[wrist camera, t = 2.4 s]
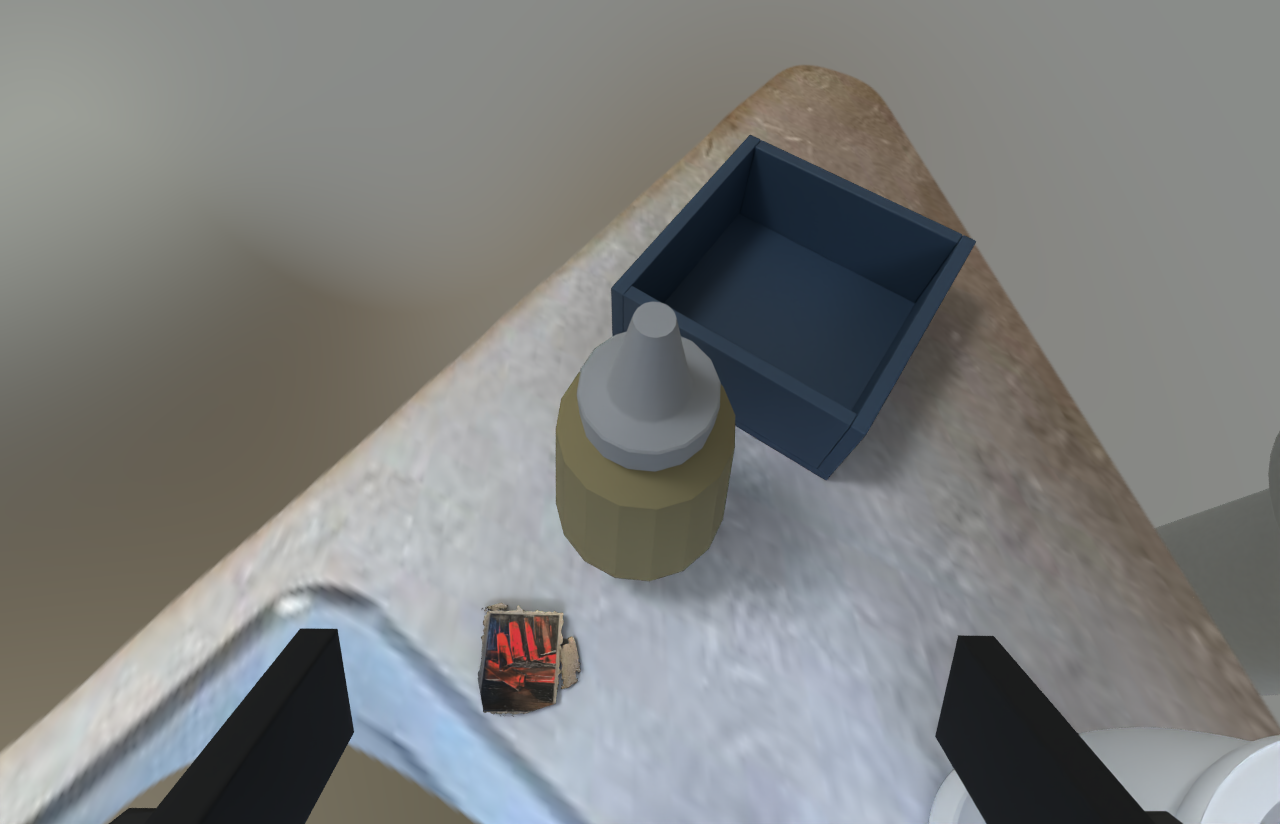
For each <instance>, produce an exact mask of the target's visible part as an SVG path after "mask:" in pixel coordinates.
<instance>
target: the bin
mask: <svg viewBox="0 0 1280 824" xmlns="http://www.w3.org/2000/svg"><path fill="white" fill-rule="evenodd" d="M975 243H976V241H975V240H973V239H971V238H969V237H967V236H964V235H963V236H962V234H960V233H958V232H956V231H954V230H952V229H950V228H948V227H946V226H943V225H941V224H939V223H937V222H935V221H933V220H931V219H928V218H926V217H924V216H922V215H920V214H918V213H916V212H914V211H911V210H909V209H907V208H905V207H903V206H901V205H899V204H897V203H894V202H892V201H890V200H888V199H886V198H884V197H882V196H879V195H877V194H875V193H873V192H871V191H869V190H867V189H865V188H862V187H860V186H858V185H856V184H854V183H852V182H850V181H848V180H845V179H843V178H841V177H839V176H837V175H835V174H833V173H831V172H828V171H826V170H824V169H822V168H820V167H818V166H816V165H813V164H811V163H809V162H807V161H805V160H803V159H801V158H799V157H796V156H794V155H792V154H790V153H788V152H786V151H784V150H782V149H779V148H777V147H775V146H773V145H771V144H769V143H767V142H765V141H762V140H760V139H758V138H756V137H754V136H752V135H749V136H748V137H747V139H746V140H745V141H744V142H743V143H742V144H741V145H740V146H739V147H738V149H737V150H736V151H735V152H734V153H733V154H732V155H731V156H730V157H729V158H728V160H727V161H726V162H725V163H724V164H723V165H722V166H721V167H720V168H719V170H718V171H717V172H716V173H715V174H714V175H713V176H712V177H711V178H710V179H709V181H708V182H707V183H706V184H705V185H704V186H703V187H702V188H701V189H700V191H699V192H698V193H697V194H696V195H695V196H694V197H693V198H692V199H691V200H690V202H689V203H688V204H687V205H686V206H685V207H684V208H683V209H682V210H681V212H680V213H679V214H678V215H677V216H676V217H675V218H674V219H673V220H672V221H671V223H670V224H669V225H668V226H667V227H666V228H665V229H664V230H663V231H662V233H661V234H660V235H659V236H658V237H657V238H656V239H655V240H654V241H653V242H652V244H651V245H650V246H649V247H648V248H647V249H646V250H645V251H644V252H643V253H642V255H641V256H640V257H639V258H638V259H637V260H636V261H635V262H634V263H633V265H632V266H631V267H630V268H629V269H628V270H627V271H626V272H625V273H624V274H623V276H622V277H621V278H620V279H619V280H618V281H617V282H616V283H615V284H614V286H613V287H612V288H611V297H612V333H613V336H614V335H616V334H620V333H624V332H627V329H628V327H629V324H630V322H631V319H632V317H633V314H634V313H635V311H636V310H637V308H638V307H640V306H641V305H643V304H644V303H648V302H661V303H663V304H666V305H668V306H669V307H670V308H671V309H672V310H673V311H674V313H675V315H676V318H677V322H678V326H679V331H680V335H681V336H682V337H684V338H686V339H688V340H690V341H693V342H694V343H695V344H696V345H697V346H698V347H699V348H700V349H701V350H702V351H703V352H704V353H705V354H706V355H707V356H708V357H709V358H710V359H711V361H712V363H713V365H714V368H715V370H716V373H717V375H718V377H719V380H720V382H721V385H722V386H723V387H724V390H725V392H726V394H727V397H728V399H729V401H730V404H731V406H732V409H733V411H734V413H735V425H736V426H737V427H739V428H741V429H742V430H744V431H745V432H747V433H749V434H750V435H752V436H754V437H755V438H757V439H759V440H760V441H762V442H764V443H765V444H767V445H769V446H770V447H772V448H773V449H775V450H777V451H778V452H780V453H782V454H783V455H785V456H787V457H788V458H790V459H792V460H793V461H795V462H797V463H798V464H800V465H801V466H803V467H805V468H806V469H808V470H810V471H811V472H813V473H815V474H816V475H818V476H820V477H821V478H823V479H825V480H827V479H828V478H829V477H830V475H831V474H832V473H833V472H834V471H835V470H836V469H837V468H838V466H839V465H840V464H841V463H842V462H843V461H844V460H845V458H846V457H847V456H848V455H849V454H850V453H851V452H852V450H853V449H854V448H855V447H856V446H857V445H858V443H859V442H860V441H861V440H862V439H863V438H864V437H865V435H866V434H867V432H868V431H869V429H870V427H871V425H872V424H873V422H874V420H875V418H876V417H877V415H878V413H879V411H880V410H881V408H882V406H883V404H884V403H885V401H886V399H887V397H888V396H889V394H890V392H891V390H892V389H893V387H894V385H895V383H896V382H897V380H898V378H899V376H900V375H901V373H902V371H903V369H904V368H905V366H906V364H907V362H908V361H909V359H910V357H911V355H912V354H913V352H914V350H915V348H916V346H917V345H918V343H919V341H920V339H921V338H922V336H923V334H924V332H925V331H926V329H927V327H928V325H929V324H930V322H931V320H932V318H933V317H934V315H935V313H936V311H937V310H938V308H939V306H940V304H941V303H942V301H943V299H944V297H945V296H946V294H947V292H948V290H949V289H950V287H951V285H952V283H953V282H954V280H955V278H956V276H957V275H958V273H959V271H960V269H961V268H962V266H963V264H964V262H965V261H966V259H967V257H968V255H969V254H970V252H971V250H972V248H973V246H974V245H975Z"/></svg>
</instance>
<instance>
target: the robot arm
mask: <svg viewBox="0 0 1280 824" xmlns="http://www.w3.org/2000/svg"><path fill="white" fill-rule="evenodd" d="M353 733H354V729H353V723H352V717H351V710H350V704H349V698H348V692H347V686H346V679H345V673H344V667H343V661H342V654H341V648H340V642H339V636H338V629H300V630H299V631H298V632H297V633H296V635H295V636H294V637H293V638H292V640H291V641H290V642H289V643H288V645H287V646H286V647H285V648H284V650H283V651H282V652H281V653H280V655H279V656H278V657H277V658H276V660H275V661H274V662H273V663H272V665H271V666H270V667H269V668H268V670H267V671H266V672H265V673H264V675H263V676H262V677H261V678H260V680H259V681H258V682H257V683H256V685H255V686H254V687H253V688H252V690H251V691H250V692H249V693H248V695H247V696H246V697H245V698H244V700H243V701H242V702H241V703H240V705H239V706H238V707H237V708H236V709H235V711H234V712H233V713H232V714H231V716H230V717H229V718H228V719H227V721H226V722H225V723H224V724H223V726H222V727H221V728H220V729H219V731H218V732H217V733H216V734H215V736H214V737H213V738H212V739H211V741H210V742H209V743H208V744H207V746H206V747H205V748H204V749H203V751H202V752H201V753H200V754H199V756H198V757H197V758H196V759H195V761H194V762H193V763H192V764H191V766H190V767H189V768H188V769H187V771H186V772H185V773H184V774H183V776H182V777H181V778H180V779H179V781H178V782H177V783H176V784H175V786H174V787H173V788H172V789H171V791H170V792H169V793H168V795H167V796H166V797H165V798H164V799H163V801H162V802H161V803H160V804H159V806H158V807H157V808H129V809H127V810H126V811H125V812H123V813H122V814H121V815H119V816H118V817H117V818H116V819H114V820H113V821H112V822H111V823H109V824H305V822H306V821H307V819H308V817H309V815H310V813H311V811H312V809H313V808H314V806H315V804H316V802H317V800H318V798H319V796H320V795H321V793H322V791H323V789H324V787H325V785H326V783H327V781H328V780H329V778H330V776H331V774H332V772H333V770H334V768H335V767H336V765H337V763H338V761H339V759H340V757H341V755H342V753H343V752H344V750H345V748H346V746H347V744H348V742H349V741H350V739H351V737H352V735H353ZM935 737H936V738H937V740H938V742H939V744H940V745H941V747H942V749H943V750H944V752H945V754H946V756H947V757H948V759H949V761H950V762H951V764H952V766H953V768H954V769H955V771H956V773H957V774H958V776H959V778H960V780H961V781H962V783H963V785H964V786H965V788H966V790H967V792H968V793H969V795H970V797H971V798H972V800H973V802H974V804H975V805H976V807H977V809H978V810H979V812H980V814H981V816H982V817H983V819H984V821H985V822H986V824H1183V823H1182V822H1180V821H1179V820H1178V819H1176V818H1175V817H1174V816H1173V815H1171V814H1170V813H1169V812H1167V811H1144V810H1143V809H1142V807H1141V806H1140V805H1139V804H1138V803H1137V802H1136V800H1135V799H1134V798H1133V797H1132V796H1131V795H1130V794H1129V792H1128V791H1127V790H1126V789H1125V788H1124V787H1123V785H1122V784H1121V783H1120V782H1119V781H1118V780H1117V778H1116V777H1115V776H1114V775H1113V774H1112V773H1111V771H1110V770H1109V769H1108V768H1107V767H1106V766H1105V765H1104V763H1103V762H1102V761H1101V760H1100V759H1099V758H1098V756H1097V755H1096V754H1095V753H1094V752H1093V751H1092V749H1091V748H1090V747H1089V746H1088V745H1087V744H1086V742H1085V741H1084V740H1083V739H1082V738H1081V737H1080V736H1079V734H1078V733H1077V732H1076V731H1075V730H1074V729H1073V727H1072V726H1071V725H1070V724H1069V723H1068V722H1067V720H1066V719H1065V718H1064V717H1063V716H1062V715H1061V713H1060V712H1059V711H1058V710H1057V709H1056V708H1055V707H1054V705H1053V704H1052V703H1051V702H1050V701H1049V700H1048V698H1047V697H1046V696H1045V695H1044V694H1043V693H1042V691H1041V690H1040V689H1039V688H1038V687H1037V686H1036V684H1035V683H1034V682H1033V681H1032V680H1031V679H1030V678H1029V676H1028V675H1027V674H1026V673H1025V672H1024V671H1023V669H1022V668H1021V667H1020V666H1019V665H1018V664H1017V662H1016V661H1015V660H1014V659H1013V658H1012V657H1011V655H1010V654H1009V653H1008V652H1007V651H1006V650H1005V649H1004V647H1003V646H1002V645H1001V644H1000V643H999V642H998V640H997V639H996V638H995V637H994V636H958V639H957V643H956V648H955V652H954V657H953V661H952V665H951V670H950V674H949V679H948V683H947V687H946V692H945V696H944V700H943V705H942V709H941V714H940V718H939V722H938V727H937V731H936V736H935Z"/></svg>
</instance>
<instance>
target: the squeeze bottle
mask: <svg viewBox="0 0 1280 824" xmlns="http://www.w3.org/2000/svg"><path fill="white" fill-rule="evenodd" d="M734 448H735V413H734V411H733V409H732V406H731V404H730V401H729V399H728V397H727V394H726V392H725V390H724V387H723V386H722V385H721V382H720V380H719V377H718V375H717V373H716V370H715V368H714V365H713V363H712V361H711V359H710V358H709V357H708V356H707V355H706V354H705V353H704V352H703V351H702V350H701V349H700V348H699V347H698V346H697V345H696V344H695V343H694V342H693V341H690V340H688V339H686V338H684V337H682V336H681V335H680V331H679V326H678V322H677V318H676V315H675V313H674V311H673V310H672V309H671V308H670V307H669V306H668V305H666V304H663V303H661V302H648V303H644V304H643V305H641V306H640V307H638V308H637V310H636V311H635V313H634V314H633V317H632V319H631V322H630V324H629V327H628V329H627V332H624V333H620V334H616V335H614V336H613V337H611V338H610V339H608V340H607V341H605V342H604V343H602V344H601V345H599V346H598V347H596V348H595V349H594V350H593V352H592V353H591V355H590V356H589V358H588V359H587V361H586V362H585V364H584V365H583V366H582V368H581V370H580V372H579V373H578V375H577V376H576V378H575V379H574V381H573V382H572V384H571V385H570V386H569V388H568V389H567V391H566V392H565V394H564V395H563V397H562V398H561V403H560V409H559V414H558V420H557V426H556V505H557V509H558V513H559V517H560V521H561V525H562V529H563V533H564V535H565V537H566V538H567V539H568V540H569V542H570V543H571V544H572V546H573V547H574V548H575V549H576V551H577V552H578V553H579V555H580V556H581V557H582V558H583V560H584V561H585V562H587V563H589V564H591V565H593V566H594V567H596V568H598V569H600V570H602V571H604V572H605V573H607V574H609V575H611V576H613V577H615V578H622V579H632V580H642V581H652V580H656V579H659V578H662V577H665V576H669V575H672V574H675V573H678V572H681V571H684V570H685V569H686V568H687V567H688V566H689V565H691V564H692V563H693V562H694V561H695V560H696V559H698V558H699V557H700V556H701V555H702V554H703V553H705V552H706V551H707V550H708V549H709V547H710V545H711V543H712V541H713V539H714V537H715V535H716V533H717V531H718V529H719V526H720V524H721V522H722V520H723V515H724V509H725V503H726V497H727V491H728V484H729V478H730V472H731V466H732V460H733V454H734Z"/></svg>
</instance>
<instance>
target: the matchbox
mask: <svg viewBox="0 0 1280 824" xmlns="http://www.w3.org/2000/svg"><path fill="white" fill-rule="evenodd" d="M507 606H508V605H507ZM507 606H505V605H504V604H503V603H498V604H495V605H492V606H488V607H487V608H489V609H488V610H490V611H489V612H487V615H486V616H484V619H485V620H484V621H483V625H484V626H485V628H484V630H483V631H484V635H483V636H482V637H481V639H482V658H481V659H482V660H481V666H480V670H479V672H478V682H479V688H480V693H481V699H482V705H483V712H484V713H486V712H491V713H492V714H495V713H498V714H502V713H505V714H507V713H512V714H519V713H523V714H525V713H528V712H531V711H534V710H537V709H540V708H543V707H547V706H550V705H553V704H556V696H557V692H558V691H557V689H558V687H557V685H559V681H558V680H559V678H558V675H559V674H560V673H561V674H562V679H564V681H563V685H564V686H562V685H561V686H562V687H561V689H564V688H569V687H570V686H571V685H572V684H574V683H576V682H577V681H578V680H577V679H578V678H577V679H576V675H575V673H576V671H578V672H580V670H581V669H579V668H580V666H579V665H580V663H579V662H578V659H579V657H578V652H577V648H576V643H575V640H574V639H573V637H570V638H568V641H569V644H565V645H563V648H562V647H560V644H562V643H563V637H562V634H561V629H562V625H563V622H564V621H563V613H556V611H554V612H553V613H552V612H543V611H538V610H536V611H535V612H531V611H530V612H528V611H525V612H524V610H522V609H521V607H520V606H519V605H518V606H517V610H515V611H514V610H512V611H501V610H502V609H501V608H504V609H506V607H507ZM485 608H486V607H485ZM487 608H486V609H487ZM482 609H483V608H482ZM486 609H485V610H484V611H487V610H486ZM499 610H500V611H499ZM559 652H560V653H559ZM560 659H561V661H559V660H560ZM560 662H561V664H562V670H560V669H559V666H560ZM500 716H501V715H500ZM504 717H505V716H504ZM513 717H514V716H513Z"/></svg>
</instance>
